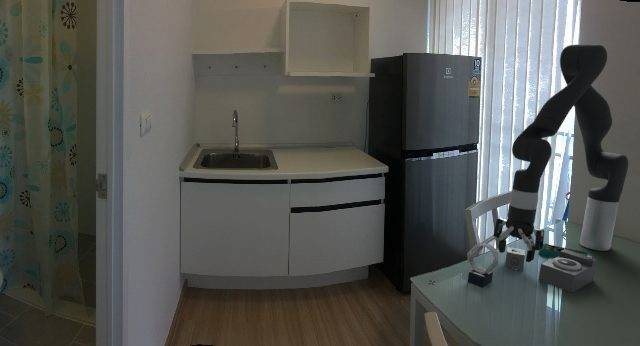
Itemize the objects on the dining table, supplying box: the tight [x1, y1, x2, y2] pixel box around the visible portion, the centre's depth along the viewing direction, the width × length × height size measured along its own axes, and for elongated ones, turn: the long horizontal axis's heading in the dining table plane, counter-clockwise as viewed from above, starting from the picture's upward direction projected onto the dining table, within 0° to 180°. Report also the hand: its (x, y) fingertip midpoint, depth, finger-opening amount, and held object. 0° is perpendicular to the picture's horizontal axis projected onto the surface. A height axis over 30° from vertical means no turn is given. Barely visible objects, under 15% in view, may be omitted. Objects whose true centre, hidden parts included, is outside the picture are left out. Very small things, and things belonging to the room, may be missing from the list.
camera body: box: [537, 249, 598, 293], centre depth 128 cm, size 14×9×7 cm, turn 128°
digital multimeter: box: [538, 243, 592, 259], centre depth 147 cm, size 7×15×3 cm, turn 58°
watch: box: [466, 242, 499, 289], centre depth 124 cm, size 6×8×11 cm
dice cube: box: [504, 246, 526, 272], centre depth 137 cm, size 5×5×5 cm
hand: (514, 256), depth 137 cm, fingers open, 8 cm apart
